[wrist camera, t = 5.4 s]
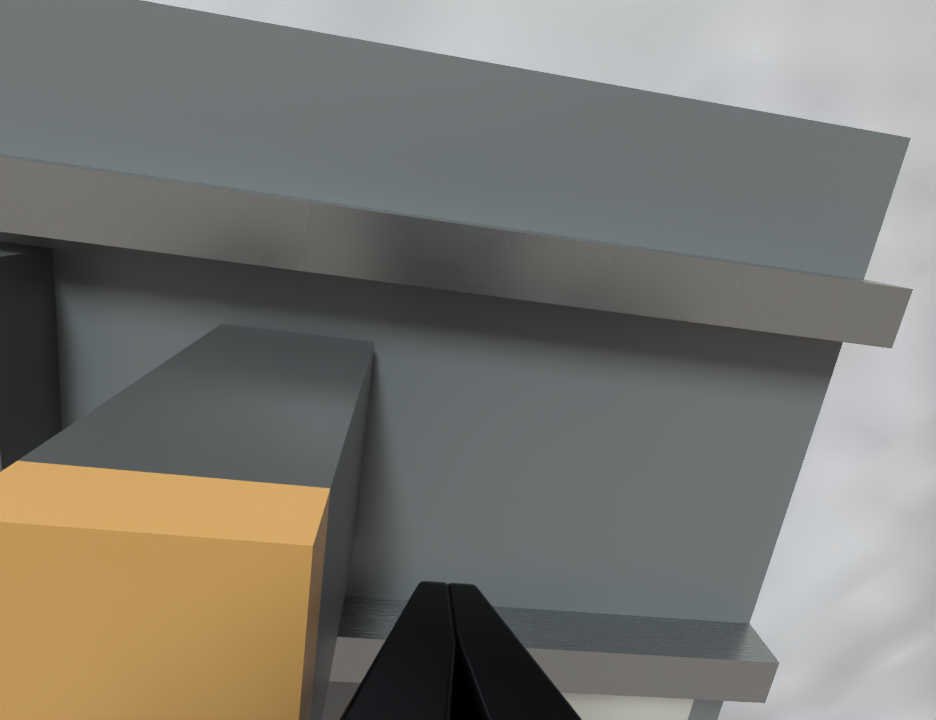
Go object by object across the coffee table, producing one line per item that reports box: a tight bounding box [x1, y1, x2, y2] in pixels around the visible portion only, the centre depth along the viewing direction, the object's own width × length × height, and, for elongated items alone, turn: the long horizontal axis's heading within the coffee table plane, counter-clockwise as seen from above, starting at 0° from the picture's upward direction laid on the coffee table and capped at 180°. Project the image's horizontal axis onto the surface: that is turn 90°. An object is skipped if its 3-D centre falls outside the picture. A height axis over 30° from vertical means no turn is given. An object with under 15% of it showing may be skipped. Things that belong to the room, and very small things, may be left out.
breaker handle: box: [0, 324, 375, 720], centre depth 9 cm, size 3×5×7 cm, turn 172°
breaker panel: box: [0, 0, 913, 720], centre depth 12 cm, size 18×16×3 cm
